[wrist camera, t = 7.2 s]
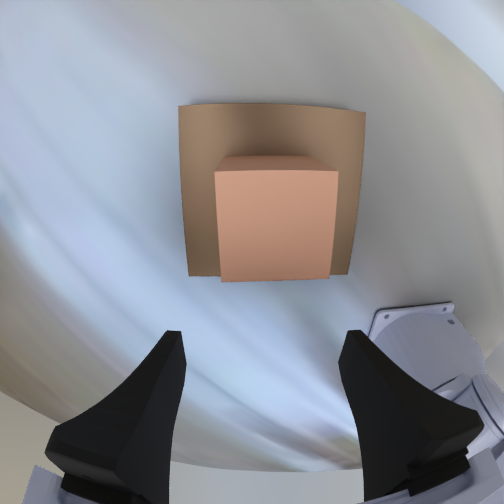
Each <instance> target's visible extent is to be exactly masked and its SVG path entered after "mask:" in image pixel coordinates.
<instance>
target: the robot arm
mask: <svg viewBox="0 0 504 504" xmlns="http://www.w3.org/2000/svg"><path fill="white" fill-rule="evenodd" d="M454 308H455V305H454V304H453V303H452V302H451V303H443V304H436V305H427V306H419V307H409V308H399V309H389V310H380V311H378V312H377V313H376V316H375V319H374V322H373V325H372V328H371V331H370V334H369V338H368V337H367V336H366V335H365V334H364V333H363V332H362V331H361V330H349V331H348V332H347V335H346V339H345V342H344V345H343V349H342V352H341V355H340V358H339V361H338V364H339V370H340V375H341V380H342V383H343V387H344V390H345V393H346V396H347V399H348V402H349V405H350V408H351V411H352V414H353V417H354V420H355V423H356V427H357V432H358V438H359V443H360V450H361V457H362V467H363V478H364V502H362V503H358V504H504V393H503V391H502V390H501V388H500V387H499V386H498V384H497V383H496V382H495V381H494V380H493V379H492V377H491V376H489V375H488V374H485V368H486V367H485V359H484V355H483V352H482V350H481V348H480V346H479V345H478V344H477V342H476V341H475V340H474V339H473V337H472V336H471V335H470V334H469V332H468V331H467V330H466V329H465V327H464V326H463V325H462V324H461V322H460V321H459V320H458V319H457V318H456V316H455V315H454V314H453V310H454ZM385 315H386V316H385ZM186 364H187V363H186V358H185V352H184V347H183V341H182V335H181V331H169V330H167V331H166V332H165V333H164V334H163V336H162V337H161V339H160V340H159V341H158V343H157V344H156V345H155V346H154V348H153V349H152V350H151V352H150V353H149V354H148V355H147V356H146V358H145V359H144V360H143V361H142V362H141V364H140V365H139V366H138V367H137V368H136V369H135V370H134V371H133V372H132V373H131V375H130V376H129V377H128V378H127V379H126V380H125V381H124V382H123V383H122V384H120V385H119V386H118V387H117V388H116V389H115V390H114V391H113V392H111V393H110V394H109V395H108V396H106V397H105V398H104V399H103V400H101V401H100V402H99V403H97V404H96V405H94V406H93V407H91V408H90V409H88V410H86V411H85V412H83V413H82V414H80V415H78V416H76V417H75V418H73V419H71V420H68V421H66V422H64V423H62V424H60V425H58V426H55V428H54V430H53V432H52V434H51V436H50V439H49V442H48V444H47V447H46V450H45V455H46V456H47V458H48V459H49V460H50V461H52V462H53V463H54V464H55V465H56V466H57V467H58V468H60V469H61V470H62V471H63V472H65V474H64V477H63V478H62V477H60V476H58V475H57V474H55V473H52V472H50V471H48V470H46V469H44V468H41V467H39V466H37V465H35V466H34V469H33V472H32V475H31V477H30V480H29V484H28V486H27V490H26V493H25V496H24V499H23V503H22V504H169V475H170V458H171V446H172V437H173V430H174V424H175V420H176V416H177V412H178V407H179V403H180V399H181V395H182V391H183V387H184V381H185V373H186Z"/></svg>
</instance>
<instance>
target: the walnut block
mask: <svg viewBox="0 0 504 504" xmlns="http://www.w3.org/2000/svg"><path fill="white" fill-rule="evenodd" d="M178 113H179V153H180V175H181V193H182V207H183V221H184V233H185V244H186V254H187V264H188V273H189V276H221V268H220V254H219V240H218V225H217V209H216V192H215V173H214V172H215V170H216V169H217V167H218V166H219V164H220V163H221V161H222V160H223V158H224V157H231V156H311V157H313V158H315V159H316V160H318V161H320V162H322V163H324V164H326V165H328V166H330V167H331V168H333V169H335V170H337V171H339V173H338V191H337V205H336V218H335V230H334V240H333V250H332V259H331V267H330V275H344V274H348V270H349V264H350V258H351V252H352V246H353V240H354V233H355V226H356V219H357V211H358V203H359V195H360V186H361V176H362V165H363V152H364V137H365V115H366V113H364V112H358V111H351V110H344V109H335V108H327V107H316V106H305V105H290V104H267V103H223V104H200V105H185V106H178Z"/></svg>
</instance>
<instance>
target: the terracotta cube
mask: <svg viewBox="0 0 504 504" xmlns="http://www.w3.org/2000/svg"><path fill="white" fill-rule="evenodd" d="M214 173H215V192H216V209H217V225H218V240H219V254H220V268H221V280H222V282H246V281H281V280H309V279H329V276H330V267H331V259H332V250H333V240H334V230H335V218H336V205H337V191H338V173H339V171H337V170H335V169H333V168H331V167H330V166H328V165H326V164H324V163H322V162H320V161H318V160H316V159H315V158H313V157H311V156H231V157H224V158H223V160H222V161H221V163H220V164H219V166H218V167H217V169H216V170H215V172H214Z"/></svg>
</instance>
